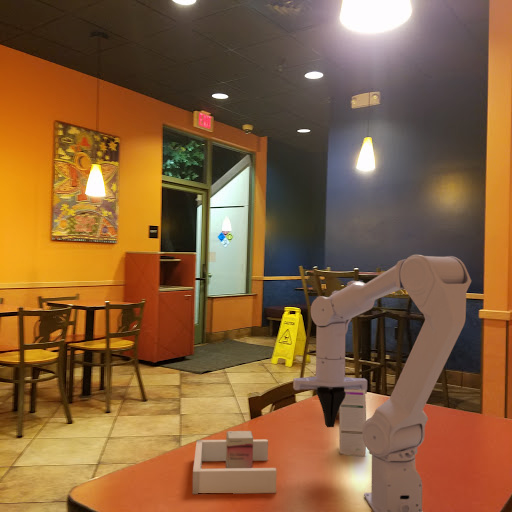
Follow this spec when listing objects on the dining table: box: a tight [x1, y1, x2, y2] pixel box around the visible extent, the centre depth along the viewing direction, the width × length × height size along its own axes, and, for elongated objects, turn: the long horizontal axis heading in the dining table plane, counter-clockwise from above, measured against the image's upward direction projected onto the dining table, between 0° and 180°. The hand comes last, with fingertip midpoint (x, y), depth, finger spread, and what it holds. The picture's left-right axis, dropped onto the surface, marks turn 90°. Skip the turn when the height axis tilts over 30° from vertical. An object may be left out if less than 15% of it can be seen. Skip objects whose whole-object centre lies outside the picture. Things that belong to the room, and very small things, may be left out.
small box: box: [225, 430, 254, 468], centre depth 99 cm, size 5×4×8 cm
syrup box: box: [338, 389, 367, 457], centre depth 113 cm, size 6×6×14 cm
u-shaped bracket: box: [192, 438, 277, 495], centre depth 98 cm, size 16×15×4 cm
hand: (329, 425), depth 100 cm, fingers closed
